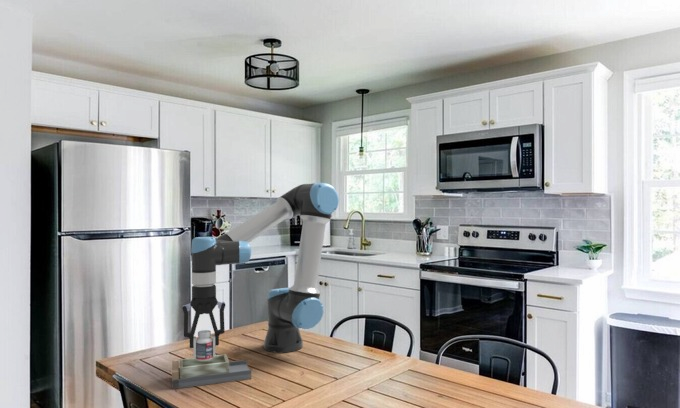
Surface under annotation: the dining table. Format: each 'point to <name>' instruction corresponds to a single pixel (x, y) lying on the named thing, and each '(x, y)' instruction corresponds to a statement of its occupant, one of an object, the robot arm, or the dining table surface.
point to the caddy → (204, 366)
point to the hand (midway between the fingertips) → (204, 356)
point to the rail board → (236, 372)
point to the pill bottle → (204, 346)
